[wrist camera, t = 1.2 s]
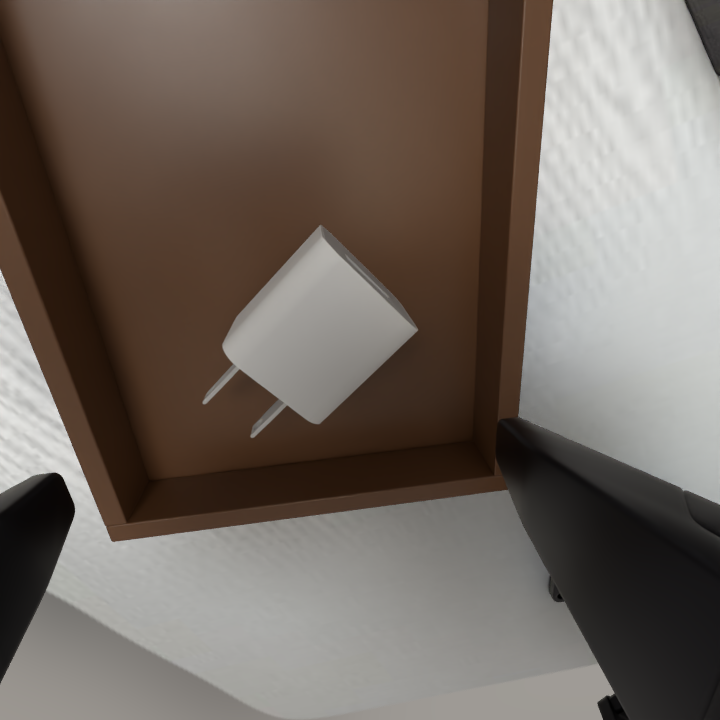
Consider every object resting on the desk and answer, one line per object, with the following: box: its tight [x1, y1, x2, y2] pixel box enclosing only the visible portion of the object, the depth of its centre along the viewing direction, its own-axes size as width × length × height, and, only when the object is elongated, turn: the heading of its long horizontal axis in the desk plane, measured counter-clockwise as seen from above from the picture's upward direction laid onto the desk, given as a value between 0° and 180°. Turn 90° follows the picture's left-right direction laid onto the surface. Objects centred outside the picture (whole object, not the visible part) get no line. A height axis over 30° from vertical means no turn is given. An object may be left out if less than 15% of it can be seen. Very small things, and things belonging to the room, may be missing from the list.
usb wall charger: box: [203, 225, 418, 438], centre depth 15 cm, size 4×7×4 cm, turn 135°
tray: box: [0, 0, 553, 542], centre depth 14 cm, size 20×16×3 cm
